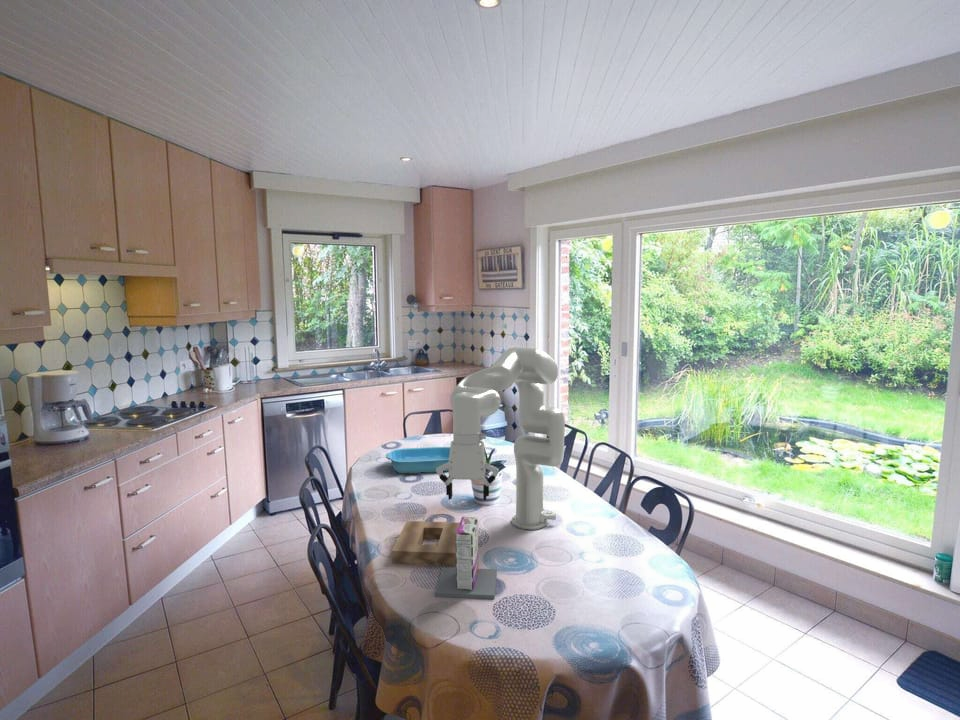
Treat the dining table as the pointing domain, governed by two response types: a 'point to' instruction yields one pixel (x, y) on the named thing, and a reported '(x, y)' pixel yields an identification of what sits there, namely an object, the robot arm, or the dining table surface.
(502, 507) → the dining table surface
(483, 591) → the charcoal mat
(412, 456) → the casserole dish
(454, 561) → the pocket holder
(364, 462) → the dining table surface
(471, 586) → the candy bar box
